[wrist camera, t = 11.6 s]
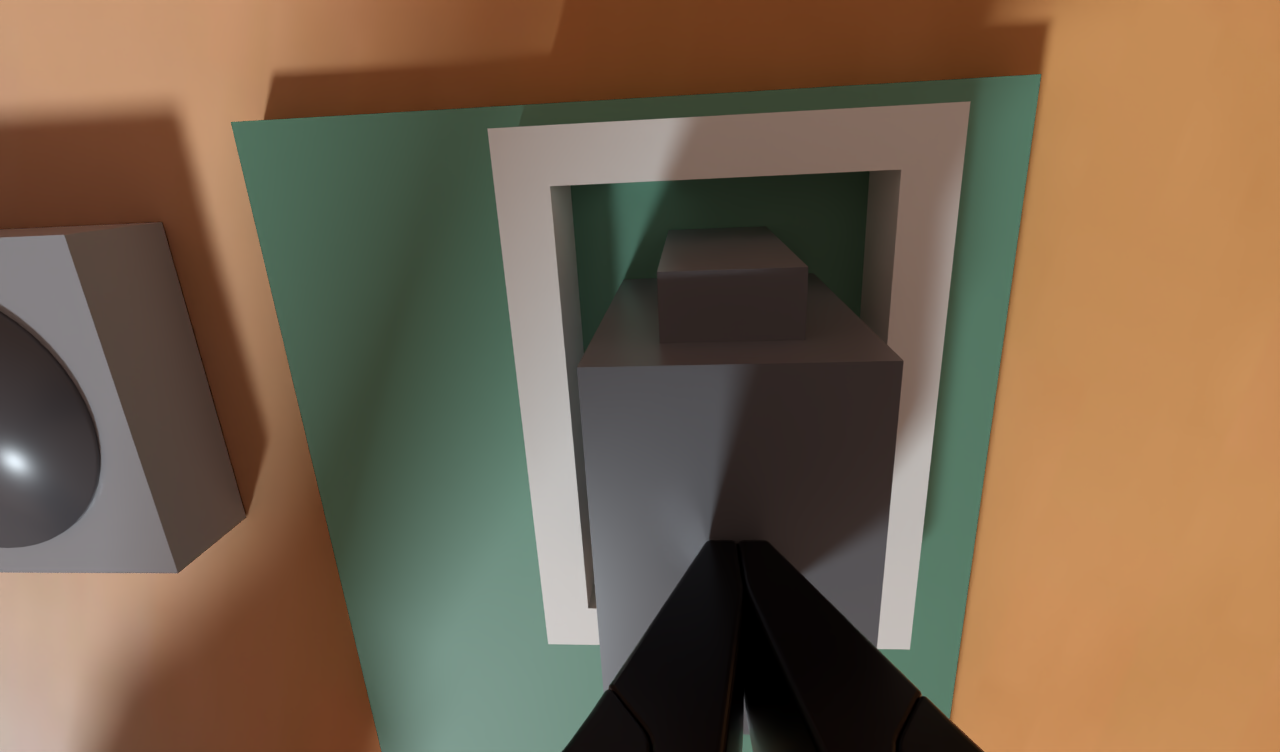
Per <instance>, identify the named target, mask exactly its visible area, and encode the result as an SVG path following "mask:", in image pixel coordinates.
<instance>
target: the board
mask: <svg viewBox="0 0 1280 752" xmlns="http://www.w3.org/2000/svg"><path fill="white" fill-rule="evenodd" d="M1040 79H1041V74H1036V75H1019V76H1002V77H985V78H969V79H952V80H935V81H918V82H901V83H884V84H867V85H850V86H833V87H816V88H800V89H783V90H766V91H749V92H732V93H715V94H698V95H681V96H664V97H647V98H630V99H614V100H597V101H580V102H563V103H546V104H529V105H512V106H495V107H478V108H461V109H445V110H428V111H411V112H394V113H377V114H360V115H343V116H326V117H309V118H292V119H275V120H259V121H242V122H231V125H232V129H233V133H234V137H235V142H236V146H237V150H238V154H239V158H240V163H241V167H242V171H243V175H244V179H245V183H246V188H247V192H248V196H249V200H250V204H251V208H252V213H253V217H254V221H255V225H256V229H257V234H258V238H259V242H260V246H261V250H262V254H263V259H264V263H265V267H266V271H267V275H268V279H269V284H270V288H271V292H272V296H273V300H274V305H275V309H276V313H277V317H278V321H279V325H280V330H281V334H282V338H283V342H284V346H285V351H286V355H287V359H288V363H289V367H290V371H291V376H292V380H293V384H294V388H295V392H296V396H297V401H298V405H299V409H300V413H301V417H302V422H303V426H304V430H305V434H306V438H307V442H308V447H309V451H310V455H311V459H312V463H313V467H314V472H315V476H316V480H317V484H318V488H319V493H320V497H321V501H322V505H323V509H324V513H325V518H326V522H327V526H328V530H329V534H330V538H331V543H332V547H333V551H334V555H335V559H336V564H337V568H338V572H339V576H340V580H341V584H342V589H343V593H344V597H345V601H346V605H347V610H348V614H349V618H350V622H351V626H352V630H353V635H354V639H355V643H356V647H357V651H358V655H359V660H360V664H361V668H362V672H363V676H364V681H365V685H366V689H367V693H368V697H369V701H370V706H371V710H372V714H373V718H374V722H375V726H376V731H377V735H378V739H379V743H380V747H381V752H562V750H563V749H564V748H565V747H566V746H567V745H568V743H569V742H570V740H571V739H572V738H573V736H574V735H575V734H576V732H577V731H578V729H579V728H580V727H581V725H582V724H583V723H584V721H585V720H586V718H587V717H588V716H589V714H590V713H591V711H592V710H593V708H594V707H595V705H596V704H597V702H598V701H599V699H600V698H601V696H602V695H603V693H604V692H603V680H602V668H601V656H600V643H599V631H598V619H597V607H596V595H595V583H594V570H593V558H592V546H591V534H590V522H589V510H588V497H587V485H586V473H585V461H584V449H583V436H582V424H581V412H580V400H579V388H578V376H577V366H578V364H579V362H580V361H581V359H582V357H583V355H584V353H585V351H586V349H587V347H588V345H589V344H590V342H591V340H592V338H593V336H594V334H595V332H596V330H597V328H598V327H599V325H600V323H601V321H602V319H603V317H604V315H605V313H606V311H607V310H608V308H609V306H610V304H611V302H612V300H613V298H614V296H615V294H616V293H617V291H618V289H619V287H620V285H621V283H622V281H623V279H648V278H657V270H658V266H659V263H660V259H661V256H662V252H663V248H664V245H665V241H666V238H667V234H668V231H669V230H683V229H709V228H735V227H761V226H766V227H767V228H768V229H769V230H770V231H771V232H772V233H773V234H774V235H776V236H777V237H778V238H779V239H780V240H781V241H782V242H783V243H784V244H785V245H786V246H787V247H788V248H789V249H790V250H791V251H792V252H793V253H794V254H795V255H796V256H797V257H798V258H799V259H801V260H802V261H803V262H804V263H805V264H806V265H807V266H808V273H814V274H815V275H816V276H817V277H818V278H819V279H820V280H821V281H822V282H823V283H824V284H825V285H826V286H827V287H828V288H829V289H830V290H831V291H832V292H833V293H834V294H835V295H836V296H837V297H838V298H840V299H841V300H842V301H843V302H844V303H845V304H846V305H847V306H848V307H849V308H850V309H851V310H852V311H853V312H854V313H855V314H856V315H857V316H858V317H859V318H860V319H861V320H862V321H863V322H864V323H865V324H866V325H867V326H868V327H869V328H870V329H871V330H872V331H874V332H875V333H876V334H877V335H878V336H879V337H880V338H881V339H882V340H883V341H884V342H885V343H886V344H887V345H888V346H889V347H890V348H891V349H892V350H893V351H894V352H895V353H896V354H897V355H898V356H899V357H900V358H901V359H902V360H903V361H904V363H903V374H902V385H901V396H900V406H899V417H898V428H897V438H896V449H895V460H894V471H893V481H892V492H891V503H890V514H889V524H888V535H887V546H886V556H885V567H884V578H883V589H882V599H881V610H880V621H879V631H878V642H877V649H878V650H879V651H880V652H881V653H882V654H883V655H884V656H885V657H886V658H887V659H888V660H889V661H890V662H891V663H892V664H893V665H894V666H895V667H897V668H898V669H899V670H900V671H901V672H902V673H903V674H904V675H905V676H906V677H907V678H908V679H909V680H910V681H911V682H912V683H913V684H914V685H915V686H916V687H917V688H918V689H919V690H920V691H921V694H922V696H926V697H927V698H928V699H929V700H930V701H931V702H932V703H933V704H934V705H935V706H936V707H937V708H938V709H940V710H941V711H942V712H943V713H944V714H945V715H946V716H947V717H948V718H949V719H950V713H951V706H952V699H953V692H954V685H955V678H956V670H957V663H958V656H959V649H960V642H961V635H962V628H963V621H964V614H965V607H966V600H967V593H968V586H969V579H970V572H971V565H972V558H973V551H974V544H975V537H976V530H977V523H978V516H979V509H980V502H981V495H982V488H983V481H984V473H985V466H986V459H987V452H988V445H989V438H990V431H991V424H992V417H993V410H994V403H995V396H996V389H997V382H998V375H999V368H1000V361H1001V354H1002V347H1003V340H1004V333H1005V326H1006V319H1007V312H1008V305H1009V298H1010V291H1011V284H1012V276H1013V269H1014V262H1015V255H1016V248H1017V241H1018V234H1019V227H1020V220H1021V213H1022V206H1023V199H1024V192H1025V185H1026V178H1027V171H1028V164H1029V157H1030V150H1031V143H1032V136H1033V129H1034V122H1035V115H1036V108H1037V101H1038V94H1039V87H1040ZM742 752H753V749H752V744H751V739H750V735H746V734H743V747H742Z"/></svg>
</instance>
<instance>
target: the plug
mask: <svg viewBox="0 0 1280 752" xmlns="http://www.w3.org/2000/svg"><path fill="white" fill-rule="evenodd" d="M903 363H904V361H903V360H902V359H901V358H900V357H899V356H898V355H897V354H896V353H895V352H894V351H893V350H892V349H891V348H890V347H889V346H888V345H887V344H886V343H885V342H884V341H883V340H882V339H881V338H880V337H879V336H878V335H877V334H876V333H875V332H874V331H872V330H871V329H870V328H869V327H868V326H867V325H866V324H865V323H864V322H863V321H862V320H861V319H860V318H859V317H858V316H857V315H856V314H855V313H854V312H853V311H852V310H851V309H850V308H849V307H848V306H847V305H846V304H845V303H844V302H843V301H842V300H841V299H840V298H838V297H837V296H836V295H835V294H834V293H833V292H832V291H831V290H830V289H829V288H828V287H827V286H826V285H825V284H824V283H823V282H822V281H821V280H820V279H819V278H818V277H817V276H816V275H815V274H814V273H808V266H807V265H806V264H805V263H804V262H803V261H802V260H801V259H799V258H798V257H797V256H796V255H795V254H794V253H793V252H792V251H791V250H790V249H789V248H788V247H787V246H786V245H785V244H784V243H783V242H782V241H781V240H780V239H779V238H778V237H777V236H776V235H774V234H773V233H772V232H771V231H770V230H769V229H768V228H767V227H766V226H761V227H735V228H709V229H683V230H669V231H668V234H667V238H666V241H665V245H664V248H663V252H662V256H661V259H660V263H659V266H658V270H657V278H648V279H623V281H622V283H621V285H620V287H619V289H618V291H617V293H616V294H615V296H614V298H613V300H612V302H611V304H610V306H609V308H608V310H607V311H606V313H605V315H604V317H603V319H602V321H601V323H600V325H599V327H598V328H597V330H596V332H595V334H594V336H593V338H592V340H591V342H590V344H589V345H588V347H587V349H586V351H585V353H584V355H583V357H582V359H581V361H580V362H579V364H578V366H577V376H578V388H579V400H580V412H581V424H582V436H583V449H584V461H585V473H586V485H587V497H588V510H589V522H590V534H591V546H592V558H593V570H594V583H595V595H596V607H597V619H598V631H599V643H600V656H601V668H602V680H603V692H605V691H606V690H608V689H609V685H610V684H611V682H612V681H613V679H614V678H615V676H616V675H617V673H618V672H619V670H620V669H621V667H622V666H623V664H624V663H625V661H626V660H627V658H628V657H629V655H630V654H631V652H632V651H633V649H634V648H635V646H636V645H637V644H638V642H639V641H640V639H641V638H642V636H643V635H644V633H645V632H646V630H647V629H648V627H649V626H650V624H651V623H652V621H653V620H654V618H655V617H656V615H657V614H658V612H659V611H660V609H661V608H662V606H663V605H664V603H665V602H666V600H667V599H668V597H669V596H670V594H671V593H672V591H673V590H674V589H675V587H676V586H677V584H678V583H679V581H680V580H681V578H682V577H683V575H684V574H685V572H686V571H687V569H688V568H689V566H690V565H691V563H692V562H693V560H694V559H695V557H696V556H697V554H698V553H699V551H700V550H701V548H702V547H703V545H704V544H705V543H706V542H707V541H708V540H733V541H735V542H736V544H738V542H739V541H741V540H766V541H768V542H770V543H771V544H772V545H773V546H774V547H775V548H776V549H777V550H778V551H779V552H780V553H781V554H782V555H783V556H784V557H785V558H786V559H787V560H788V561H789V562H790V563H791V564H792V565H793V566H794V567H795V568H796V569H797V570H798V571H799V572H800V573H801V574H802V575H803V576H804V577H805V578H806V579H807V580H808V581H809V582H810V583H811V584H812V585H813V586H814V587H815V588H816V589H817V590H818V591H819V592H820V593H821V594H822V595H823V596H824V597H825V598H826V599H827V600H829V601H830V602H831V603H832V604H833V605H834V606H835V607H836V608H837V609H838V610H839V611H840V612H841V613H842V614H843V615H844V616H845V617H846V618H847V619H848V620H849V621H850V622H851V623H852V624H853V625H854V626H855V627H856V628H857V629H858V630H859V631H860V632H861V633H862V634H863V635H864V636H865V637H866V638H867V639H868V640H869V641H870V642H871V643H872V644H873V645H874V646H875V647H876V648H877V642H878V631H879V621H880V610H881V599H882V589H883V578H884V567H885V556H886V546H887V535H888V524H889V514H890V503H891V492H892V481H893V471H894V460H895V449H896V438H897V428H898V417H899V406H900V396H901V385H902V374H903ZM743 734H746V735H750V734H749V729H748V723H747V717H746V711H745V701H744V729H743Z"/></svg>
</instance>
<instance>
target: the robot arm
mask: <svg viewBox="0 0 1280 752" xmlns="http://www.w3.org/2000/svg"><path fill="white" fill-rule="evenodd" d="M744 701H745V711H746V717H747V723H748V729H749V734H750V739H751V744H752V749H753V752H984V751H983V750H982V749H981V748H980V747H979V746H977V745H976V744H975V743H974V742H973V741H972V740H971V739H970V738H969V737H968V736H967V735H966V734H965V733H964V732H963V731H961V730H960V729H959V728H958V727H957V726H956V725H955V724H954V723H953V722H952V721H951V720H950V719H949V718H948V717H947V716H946V715H945V714H944V713H943V712H942V711H941V710H940V709H938V708H937V707H936V706H935V705H934V704H933V703H932V702H931V701H930V700H929V699H928V698H927V697H926V696H922V694H921V691H920V690H919V689H918V688H917V687H916V686H915V685H914V684H913V683H912V682H911V681H910V680H909V679H908V678H907V677H906V676H905V675H904V674H903V673H902V672H901V671H900V670H899V669H898V668H897V667H895V666H894V665H893V664H892V663H891V662H890V661H889V660H888V659H887V658H886V657H885V656H884V655H883V654H882V653H881V652H880V651H879V650H878V649H877V648H876V647H875V646H874V645H873V644H872V643H871V642H870V641H869V640H868V639H867V638H866V637H865V636H864V635H863V634H862V633H861V632H860V631H859V630H858V629H857V628H856V627H855V626H854V625H853V624H852V623H851V622H850V621H849V620H848V619H847V618H846V617H845V616H844V615H843V614H842V613H841V612H840V611H839V610H838V609H837V608H836V607H835V606H834V605H833V604H832V603H831V602H830V601H829V600H827V599H826V598H825V597H824V596H823V595H822V594H821V593H820V592H819V591H818V590H817V589H816V588H815V587H814V586H813V585H812V584H811V583H810V582H809V581H808V580H807V579H806V578H805V577H804V576H803V575H802V574H801V573H800V572H799V571H798V570H797V569H796V568H795V567H794V566H793V565H792V564H791V563H790V562H789V561H788V560H787V559H786V558H785V557H784V556H783V555H782V554H781V553H780V552H779V551H778V550H777V549H776V548H775V547H774V546H773V545H772V544H771V543H770V542H768V541H766V540H741V541H739V542H738V544H736V542H735V541H733V540H708V541H707V542H706V543H705V544H704V545H703V547H702V548H701V550H700V551H699V553H698V554H697V556H696V557H695V559H694V560H693V562H692V563H691V565H690V566H689V568H688V569H687V571H686V572H685V574H684V575H683V577H682V578H681V580H680V581H679V583H678V584H677V586H676V587H675V589H674V590H673V591H672V593H671V594H670V596H669V597H668V599H667V600H666V602H665V603H664V605H663V606H662V608H661V609H660V611H659V612H658V614H657V615H656V617H655V618H654V620H653V621H652V623H651V624H650V626H649V627H648V629H647V630H646V632H645V633H644V635H643V636H642V638H641V639H640V641H639V642H638V644H637V645H636V646H635V648H634V649H633V651H632V652H631V654H630V655H629V657H628V658H627V660H626V661H625V663H624V664H623V666H622V667H621V669H620V670H619V672H618V673H617V675H616V676H615V678H614V679H613V681H612V682H611V684H610V685H609V689H608V690H606V691H605V692H604V693H603V695H602V696H601V698H600V699H599V701H598V702H597V704H596V705H595V707H594V708H593V710H592V711H591V713H590V714H589V716H588V717H587V718H586V720H585V721H584V723H583V724H582V725H581V727H580V728H579V729H578V731H577V732H576V734H575V735H574V736H573V738H572V739H571V740H570V742H569V743H568V745H567V746H566V747H565V748H564V749H563V750H562V752H742V747H743V729H744Z"/></svg>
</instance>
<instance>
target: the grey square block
mask: <svg viewBox="0 0 1280 752" xmlns="http://www.w3.org/2000/svg"><path fill="white" fill-rule="evenodd" d="M245 518H246V515H245V512H244V508H243V505H242V501H241V498H240V494H239V491H238V487H237V484H236V480H235V477H234V473H233V470H232V466H231V463H230V459H229V456H228V452H227V449H226V445H225V442H224V438H223V435H222V431H221V428H220V424H219V421H218V417H217V414H216V410H215V407H214V403H213V400H212V396H211V393H210V389H209V386H208V382H207V379H206V375H205V372H204V368H203V365H202V361H201V358H200V354H199V351H198V347H197V344H196V340H195V337H194V333H193V330H192V326H191V323H190V319H189V316H188V312H187V309H186V305H185V302H184V298H183V295H182V291H181V288H180V284H179V281H178V277H177V274H176V270H175V267H174V263H173V260H172V256H171V253H170V249H169V246H168V242H167V239H166V235H165V232H164V228H163V225H162V222H152V223H130V224H108V225H86V226H64V227H42V228H20V229H0V572H36V573H179V572H180V571H181V570H183V569H184V568H185V567H186V566H187V565H189V564H190V563H191V562H192V561H194V560H195V559H196V558H197V557H198V556H200V555H201V554H202V553H203V552H205V551H206V550H207V549H208V548H209V547H211V546H212V545H213V544H214V543H216V542H217V541H218V540H219V539H220V538H222V537H223V536H224V535H225V534H226V533H228V532H229V531H230V530H231V529H233V528H234V527H235V526H236V525H237V524H239V523H240V522H241V521H242V520H244V519H245Z"/></svg>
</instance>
